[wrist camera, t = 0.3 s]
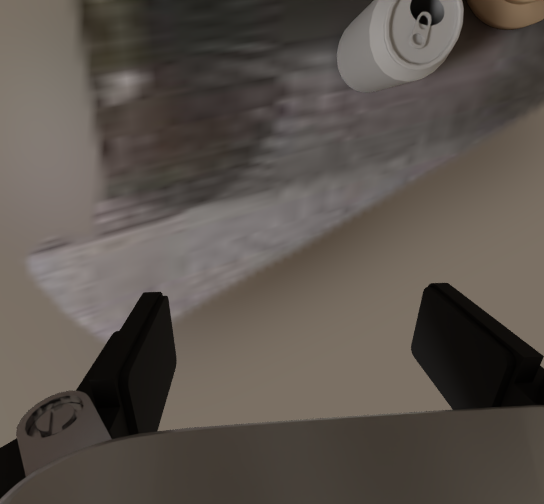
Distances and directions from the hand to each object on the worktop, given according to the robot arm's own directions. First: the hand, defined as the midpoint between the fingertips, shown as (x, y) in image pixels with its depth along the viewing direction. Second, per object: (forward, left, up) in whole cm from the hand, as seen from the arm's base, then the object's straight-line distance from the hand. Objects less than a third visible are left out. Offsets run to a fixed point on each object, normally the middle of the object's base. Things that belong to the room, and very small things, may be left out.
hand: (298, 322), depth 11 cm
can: (-16, +10, -30) cm, 35 cm away
